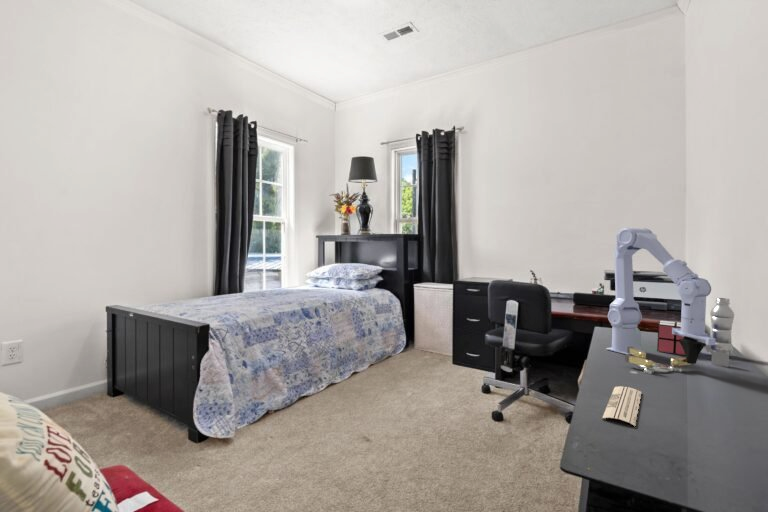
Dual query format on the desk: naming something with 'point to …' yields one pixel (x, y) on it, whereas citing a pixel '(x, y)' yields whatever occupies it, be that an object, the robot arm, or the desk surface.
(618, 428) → the desk surface
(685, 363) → the left lever screw
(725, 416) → the desk surface
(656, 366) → the base
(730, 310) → the plastic bottle
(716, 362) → the lighter
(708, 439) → the desk surface
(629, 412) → the newspaper
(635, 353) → the lever
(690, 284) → the robot arm
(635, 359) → the front lever screw
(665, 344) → the puzzle cube
